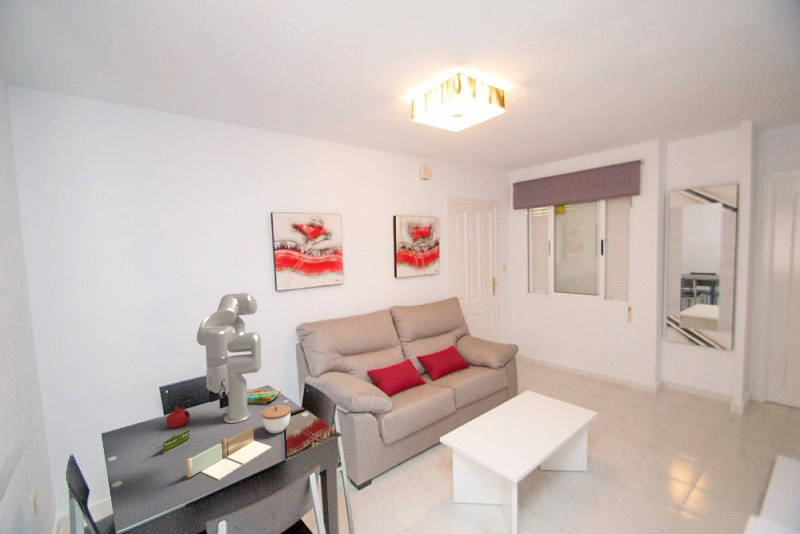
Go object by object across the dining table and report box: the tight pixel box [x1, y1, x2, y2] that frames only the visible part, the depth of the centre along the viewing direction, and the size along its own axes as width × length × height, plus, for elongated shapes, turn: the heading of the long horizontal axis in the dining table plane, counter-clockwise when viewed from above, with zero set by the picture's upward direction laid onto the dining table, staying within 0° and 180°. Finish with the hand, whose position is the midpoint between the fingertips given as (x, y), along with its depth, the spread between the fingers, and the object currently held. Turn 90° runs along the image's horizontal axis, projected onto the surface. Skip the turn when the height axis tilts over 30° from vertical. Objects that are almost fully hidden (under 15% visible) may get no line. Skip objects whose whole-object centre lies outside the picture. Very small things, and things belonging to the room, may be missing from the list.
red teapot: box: [165, 405, 191, 429], centre depth 171 cm, size 10×10×9 cm
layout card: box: [199, 440, 272, 481], centre depth 143 cm, size 20×24×1 cm
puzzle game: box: [247, 388, 282, 405], centre depth 198 cm, size 12×5×20 cm
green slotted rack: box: [156, 428, 191, 455], centre depth 149 cm, size 7×19×10 cm
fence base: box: [220, 427, 255, 458], centre depth 147 cm, size 2×14×8 cm, turn 152°
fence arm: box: [186, 442, 222, 478], centre depth 134 cm, size 2×13×6 cm, turn 151°
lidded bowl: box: [261, 404, 291, 435], centre depth 164 cm, size 13×13×11 cm
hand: (218, 404), depth 139 cm, fingers open, 9 cm apart
